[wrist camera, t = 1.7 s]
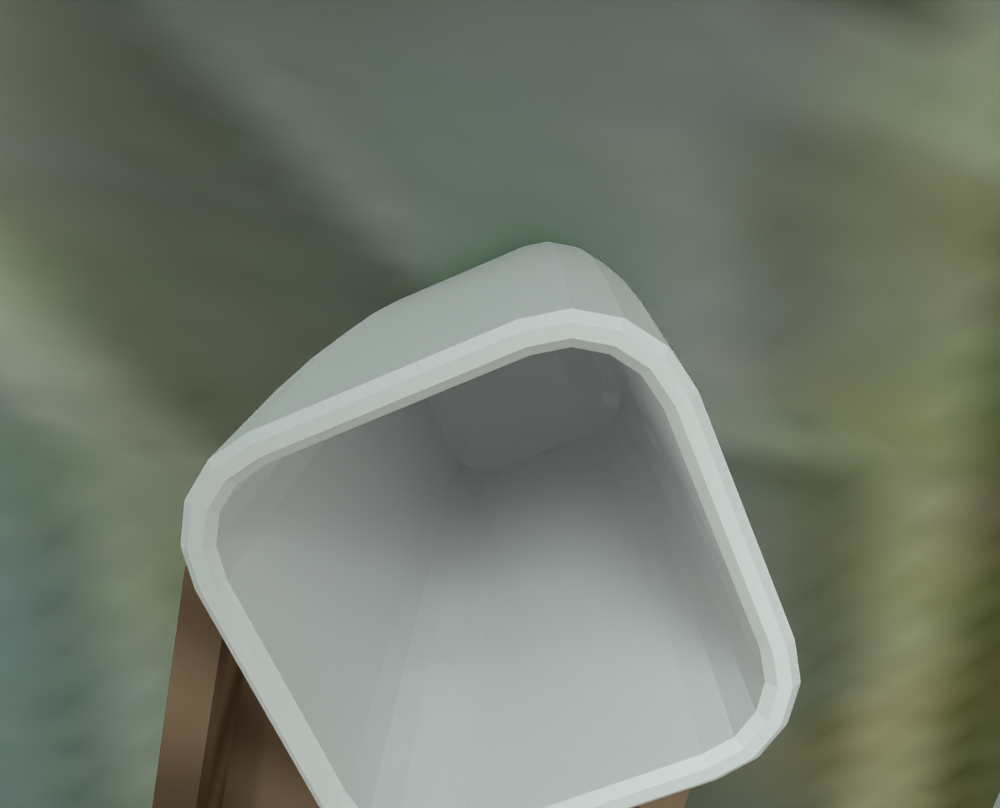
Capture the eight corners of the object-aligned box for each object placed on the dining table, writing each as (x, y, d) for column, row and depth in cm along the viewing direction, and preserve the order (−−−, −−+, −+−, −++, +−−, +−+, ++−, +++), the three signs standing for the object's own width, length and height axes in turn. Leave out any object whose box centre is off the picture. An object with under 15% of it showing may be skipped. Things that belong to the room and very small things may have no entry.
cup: (450, 512, 28) (368, 902, 14) (345, 293, 26) (128, 484, 12) (677, 424, 27) (837, 747, 13) (583, 189, 25) (650, 265, 11)
